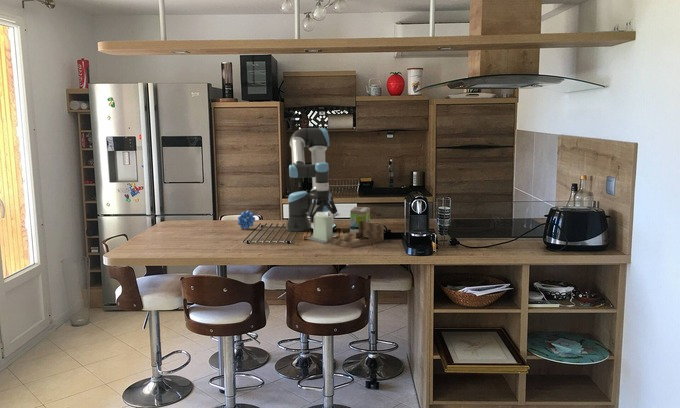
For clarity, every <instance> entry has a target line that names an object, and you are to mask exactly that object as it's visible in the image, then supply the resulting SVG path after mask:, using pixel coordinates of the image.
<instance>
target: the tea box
mask: <svg viewBox="0 0 680 408" xmlns="http://www.w3.org/2000/svg"><path fill="white" fill-rule="evenodd" d="M349 217H350V218H349V221H350V222H349V223H350V224H349V233H351V232H354V233H357V232H359V221H366V222H371V207H369V206H368V207H366V206H354V207H352V208H351V210H350V216H349Z"/></svg>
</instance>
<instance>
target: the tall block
mask: <svg viewBox="0 0 680 408" xmlns="http://www.w3.org/2000/svg"><path fill="white" fill-rule="evenodd" d="M314 217H315V229H313V228H312V229H313V230H312V231H313V232H312V233H313V237H314V238H317V239H321V240H324V241H329V238H332V237H334V236H333V235H334V234H333V230H334V229H333V226H334V225H333V224H332V217H330V216H327V215H323V214H315V216H314Z"/></svg>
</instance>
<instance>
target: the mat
mask: <svg viewBox="0 0 680 408" xmlns="http://www.w3.org/2000/svg"><path fill="white" fill-rule="evenodd" d="M305 239H306V240H310V241H314V242H317V243H321V244H327V243H330V242H329V241H324V240H321V239H317V238H314V236H310V237H306V238H305Z"/></svg>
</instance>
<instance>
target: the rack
mask: <svg viewBox="0 0 680 408" xmlns="http://www.w3.org/2000/svg"><path fill="white" fill-rule="evenodd" d="M340 237H341V235H338V236H333V237H332V238H329V242H328V243H331V244H334V245H337V246H341V247H345V248H347V249H353V248H357V247H362V246H366V245H370V244H376V243H379V242H380V243H381V242H384V224H378V223H374V222H371V221H370V222H366V221H359V232H357V233H356V238H360V237H363V238H367V239H362V240H360V241H357V242H352V243H349V242H345V241H341V240H338V238H340Z"/></svg>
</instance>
